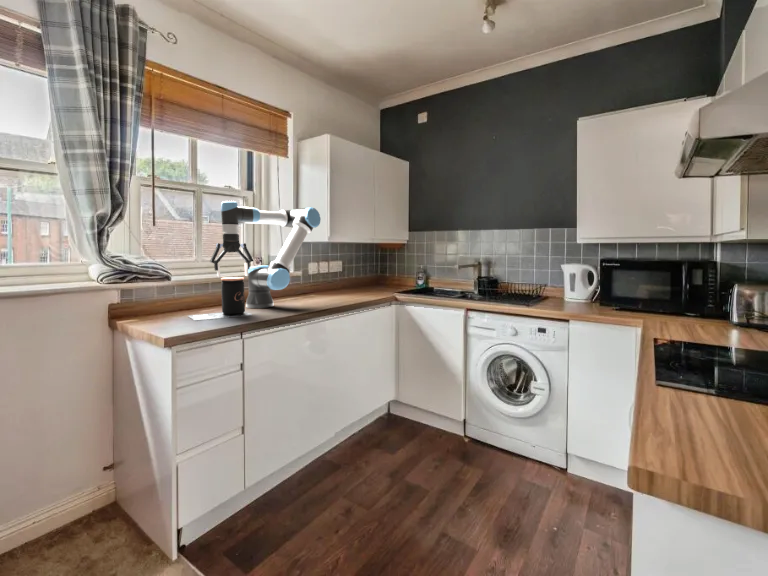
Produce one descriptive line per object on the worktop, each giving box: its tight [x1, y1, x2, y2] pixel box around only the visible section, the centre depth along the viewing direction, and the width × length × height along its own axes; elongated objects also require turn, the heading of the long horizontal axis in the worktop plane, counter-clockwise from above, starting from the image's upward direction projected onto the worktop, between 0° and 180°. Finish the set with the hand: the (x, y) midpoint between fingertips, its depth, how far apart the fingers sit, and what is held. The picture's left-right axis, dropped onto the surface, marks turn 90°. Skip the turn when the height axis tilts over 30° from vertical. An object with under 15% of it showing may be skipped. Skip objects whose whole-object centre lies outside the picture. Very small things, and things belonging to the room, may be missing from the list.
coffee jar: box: [220, 276, 246, 315], centre depth 194 cm, size 11×11×18 cm
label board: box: [187, 311, 253, 322], centre depth 191 cm, size 26×16×1 cm, turn 128°
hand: (233, 276), depth 193 cm, fingers open, 13 cm apart
